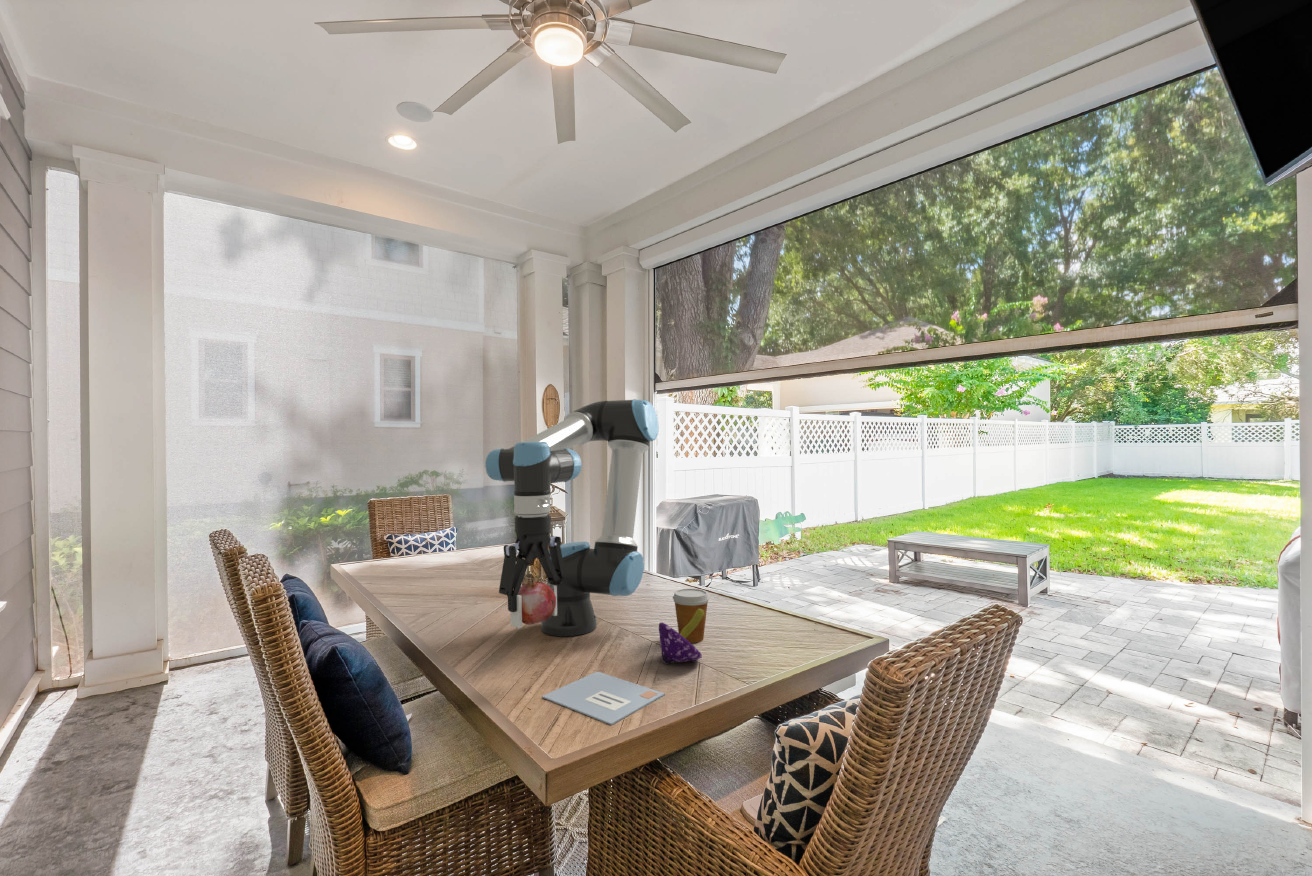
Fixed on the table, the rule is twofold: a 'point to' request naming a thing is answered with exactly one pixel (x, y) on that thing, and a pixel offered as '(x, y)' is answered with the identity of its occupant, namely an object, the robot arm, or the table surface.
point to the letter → (604, 697)
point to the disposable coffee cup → (691, 611)
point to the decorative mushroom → (679, 641)
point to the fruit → (537, 602)
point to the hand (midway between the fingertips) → (534, 620)
